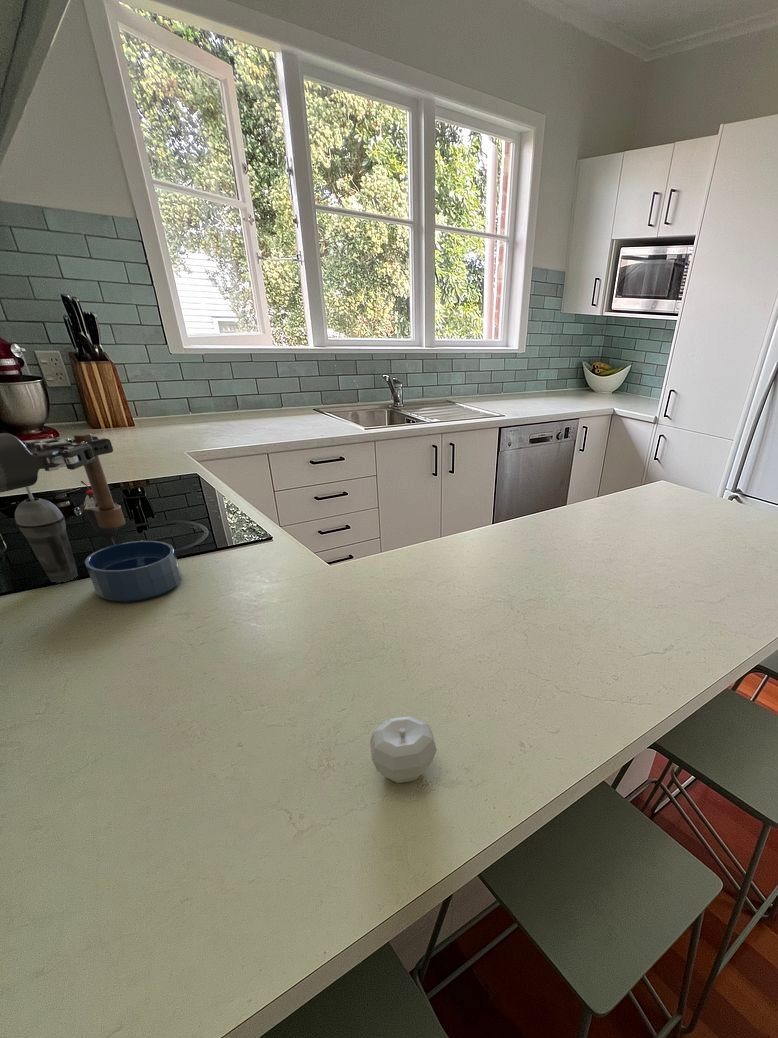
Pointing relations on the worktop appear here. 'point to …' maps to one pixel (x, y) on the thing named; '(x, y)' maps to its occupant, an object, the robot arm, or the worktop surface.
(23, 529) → the beverage cup
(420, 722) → the apple
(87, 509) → the sundae
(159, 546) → the bowl
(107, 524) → the brown pestle
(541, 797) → the worktop surface
